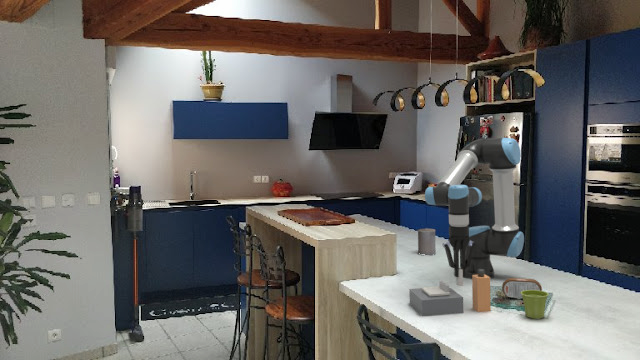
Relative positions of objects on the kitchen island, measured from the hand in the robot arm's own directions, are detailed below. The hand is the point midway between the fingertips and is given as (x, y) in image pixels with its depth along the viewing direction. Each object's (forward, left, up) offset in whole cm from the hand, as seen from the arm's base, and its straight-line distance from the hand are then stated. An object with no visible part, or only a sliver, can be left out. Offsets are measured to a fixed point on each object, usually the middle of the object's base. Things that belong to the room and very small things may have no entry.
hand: (459, 285), depth 219 cm
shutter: (+10, 0, -2) cm, 10 cm away
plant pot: (-21, +18, -9) cm, 29 cm away
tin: (-27, -3, -9) cm, 29 cm away
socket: (+10, 0, -8) cm, 13 cm away
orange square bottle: (-6, +6, -9) cm, 12 cm away
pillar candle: (-19, -97, -9) cm, 99 cm away
